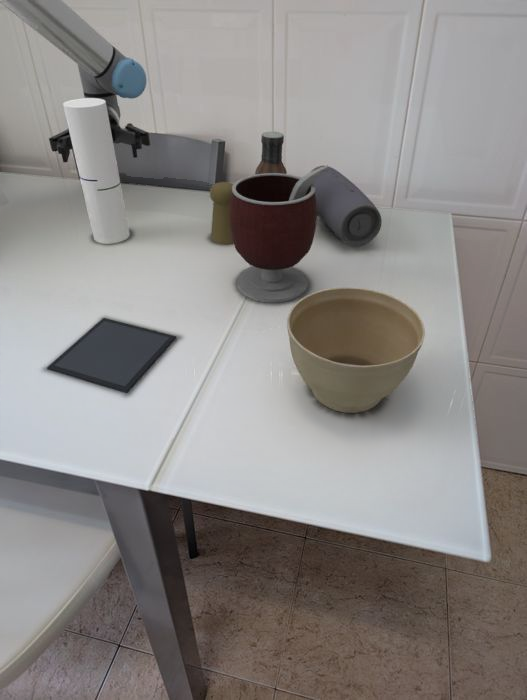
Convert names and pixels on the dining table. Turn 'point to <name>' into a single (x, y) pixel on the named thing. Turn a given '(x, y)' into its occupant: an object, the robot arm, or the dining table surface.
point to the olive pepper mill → (221, 213)
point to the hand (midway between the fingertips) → (99, 153)
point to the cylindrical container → (97, 168)
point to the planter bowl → (353, 345)
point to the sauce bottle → (271, 154)
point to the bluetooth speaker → (346, 208)
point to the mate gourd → (273, 232)
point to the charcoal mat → (113, 354)
